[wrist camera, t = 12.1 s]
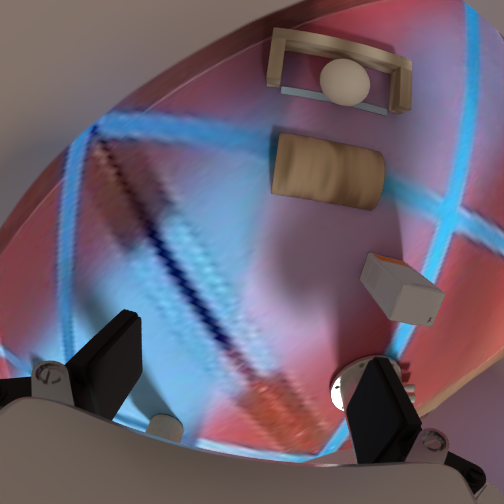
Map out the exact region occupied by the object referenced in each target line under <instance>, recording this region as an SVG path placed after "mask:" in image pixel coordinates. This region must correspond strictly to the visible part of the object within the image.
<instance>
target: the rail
mask: <svg viewBox="0 0 504 504" xmlns="http://www.w3.org/2000/svg"><path fill="white" fill-rule="evenodd" d="M285 51H292V52H298V53H305V54H310V55H316V56H321V57H326V58H331V59H335V60H336V59H349V60H352V61H354V62H356V63H358V64H359V65H361V66H364V67H367V68H371V69H374V70H378V71H381V72H384V73H387V74H390V97H389V111H390V112H393V113H396V114H401V113H404V112H406V111H409V110H411V94H412V60H409V59H407V58H404V57H401V56H398V55H395V54H393V53H390V52H387V51H383V50H380V49H377V48H374V47H370V46H367V45H363V44H360V43H356V42H352V41H348V40H344V39H340V38H336V37H331V36H326V35H321V34H316V33H311V32H305V31H298V30H292V29H284V28H276V27H274V28H273V35H272V42H271V49H270V56H269V63H268V70H267V77H266V78H267V86H271V87H278V88H280V82H281V75H282V67H283V59H284V52H285Z"/></svg>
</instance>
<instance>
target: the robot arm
mask: <svg viewBox="0 0 504 504" xmlns="http://www.w3.org/2000/svg"><path fill="white" fill-rule="evenodd" d="M141 373H142V333H141V318H140V317H138V314H137V313H136V312H133V311H129V310H126V309H124V310H122V311H121V312H120V313H119V314H118V315H117V316H116V317H115V318H113V319H112V320H111V321H110V322H109V323H108V324H107V325H106V326H105V327H104V328H103V329H102V330H101V331H100V332H99V333H98V334H96V335H95V336H94V337H93V338H92V339H91V340H90V341H89V342H88V343H87V344H86V345H85V346H84V347H83V348H81V349H80V350H79V351H78V352H77V353H76V354H75V355H74V356H73V357H72V358H71V359H70V360H69V361H68V362H67V363H66V364H65V365H63V364H62V363H60V362H57V361H43V362H41V363H39V364H37V365H36V366H35V367H34V368H33V370H32V374H31V377H21V378H9V379H0V504H504V494H503V493H501V492H500V491H499V490H498V489H497V488H496V487H494V486H493V485H492V484H491V483H488V484H487V485H486V484H485V482H486V476H485V473H484V471H483V470H482V469H481V468H480V467H479V466H477V465H475V464H473V463H471V462H469V461H467V460H465V459H463V458H461V457H459V456H457V455H455V454H453V453H451V452H449V451H448V450H449V440H448V438H447V436H446V435H445V434H444V433H442V432H441V431H439V430H437V429H434V428H426V429H423V430H422V428H421V424H422V422H421V420H420V418H419V416H418V414H417V412H416V410H415V408H414V406H413V404H412V403H413V402H414V401H415V394H414V393H407V392H412V391H414V390H415V385H414V384H407V385H404V384H403V383H402V381H401V378H402V374H401V369H400V367H399V365H398V364H397V362H396V361H395V360H393V359H392V358H390V357H388V356H383V355H372V356H366V357H363V358H360V359H358V360H355V361H353V362H352V363H350V364H348V365H347V366H346V367H344V368H343V369H342V370H341V371H340V372H339V373H338V374H337V375H336V377H335V378H334V380H333V382H332V384H331V388H330V395H331V399H332V402H333V403H334V405H335V406H336V407H337V408H339V409H340V410H343V411H344V413H345V417H346V421H347V425H348V429H349V433H350V437H351V442H352V446H353V450H354V454H355V459H356V464H309V463H295V462H283V461H273V460H265V459H257V458H250V457H243V456H237V455H232V454H226V453H221V452H216V451H211V450H207V449H202V448H198V447H194V446H190V445H186V444H182V443H178V442H174V441H171V440H167V439H164V438H161V437H157V436H154V435H151V434H148V433H145V432H142V431H139V430H136V429H133V428H130V427H127V426H124V425H122V424H119V423H116V422H114V421H112V420H113V418H114V417H115V415H116V413H117V412H118V410H119V409H120V407H121V406H122V404H123V402H124V401H125V399H126V398H127V396H128V395H129V393H130V391H131V390H132V388H133V387H134V385H135V384H136V382H137V381H138V379H139V377H140V376H141Z"/></svg>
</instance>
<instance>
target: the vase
mask: <svg viewBox="0 0 504 504" xmlns="http://www.w3.org/2000/svg"><path fill="white" fill-rule="evenodd" d="M145 433H148V434H151V435H154V436H157V437H161V438H164V439H167V440H171V441H174V442H178V443H180V442H181V438H182V435H183V433H184V429H183V426H182V424H181V423H180V422H179V421H178V420H177V419H175V418H173V417H171V416H168V415H163V414H159V415H155V416H154V417H153V418H152V419H151V421H150V423H149V425H148V427H147V430H146V432H145Z"/></svg>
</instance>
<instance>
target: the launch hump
mask: <svg viewBox="0 0 504 504" xmlns="http://www.w3.org/2000/svg"><path fill="white" fill-rule="evenodd" d="M384 179H385V164H384V159H383V156H382V154H381V153H380V152H377V151H373V150H369V149H364V148H360V147H356V146H351V145H347V144H342V143H337V142H333V141H327V140H322V139H317V138H311V137H306V136H300V135H294V134H287V133H280V134H279V141H278V149H277V156H276V163H275V171H274V178H273V185H272V192H271V194H276V195H283V196H290V197H296V198H303V199H309V200H315V201H321V202H327V203H332V204H338V205H343V206H349V207H354V208H359V209H365V210H370V211H371V210H373V209H374V208H375V206H376V205H377V203H378V201H379V199H380V196H381V193H382V190H383V185H384Z"/></svg>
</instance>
